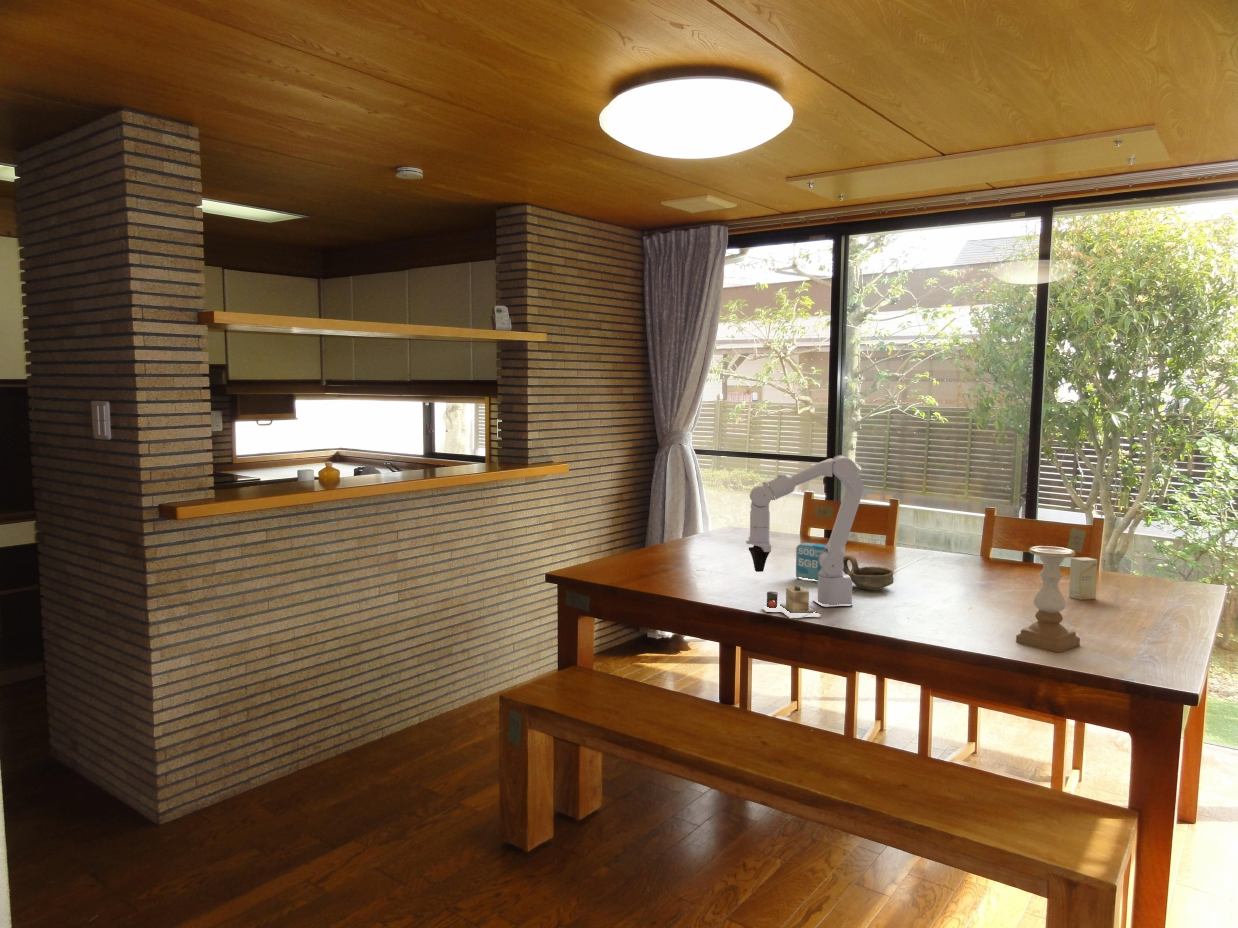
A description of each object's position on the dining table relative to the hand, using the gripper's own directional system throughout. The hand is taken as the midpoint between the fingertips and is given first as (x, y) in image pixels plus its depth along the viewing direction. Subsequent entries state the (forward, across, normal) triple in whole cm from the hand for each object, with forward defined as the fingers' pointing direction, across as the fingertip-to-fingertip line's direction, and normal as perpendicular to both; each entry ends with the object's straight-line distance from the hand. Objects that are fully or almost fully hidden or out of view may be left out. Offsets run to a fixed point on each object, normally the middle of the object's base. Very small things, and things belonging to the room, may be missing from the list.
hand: (759, 571), depth 247 cm
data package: (+10, -24, +28) cm, 38 cm away
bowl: (+10, -11, +40) cm, 43 cm away
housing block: (+8, +13, +7) cm, 17 cm away
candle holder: (+10, +51, +58) cm, 78 cm away
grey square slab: (+9, +13, +5) cm, 17 cm away
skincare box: (+10, +12, +99) cm, 100 cm away
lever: (+8, +13, 0) cm, 15 cm away
